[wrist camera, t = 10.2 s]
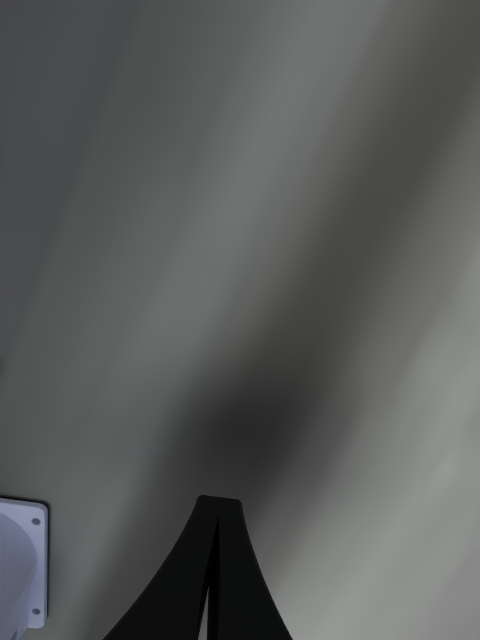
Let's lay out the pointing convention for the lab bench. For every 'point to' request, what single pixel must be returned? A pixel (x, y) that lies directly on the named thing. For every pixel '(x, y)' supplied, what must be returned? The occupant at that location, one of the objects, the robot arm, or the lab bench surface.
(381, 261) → the lab bench surface
